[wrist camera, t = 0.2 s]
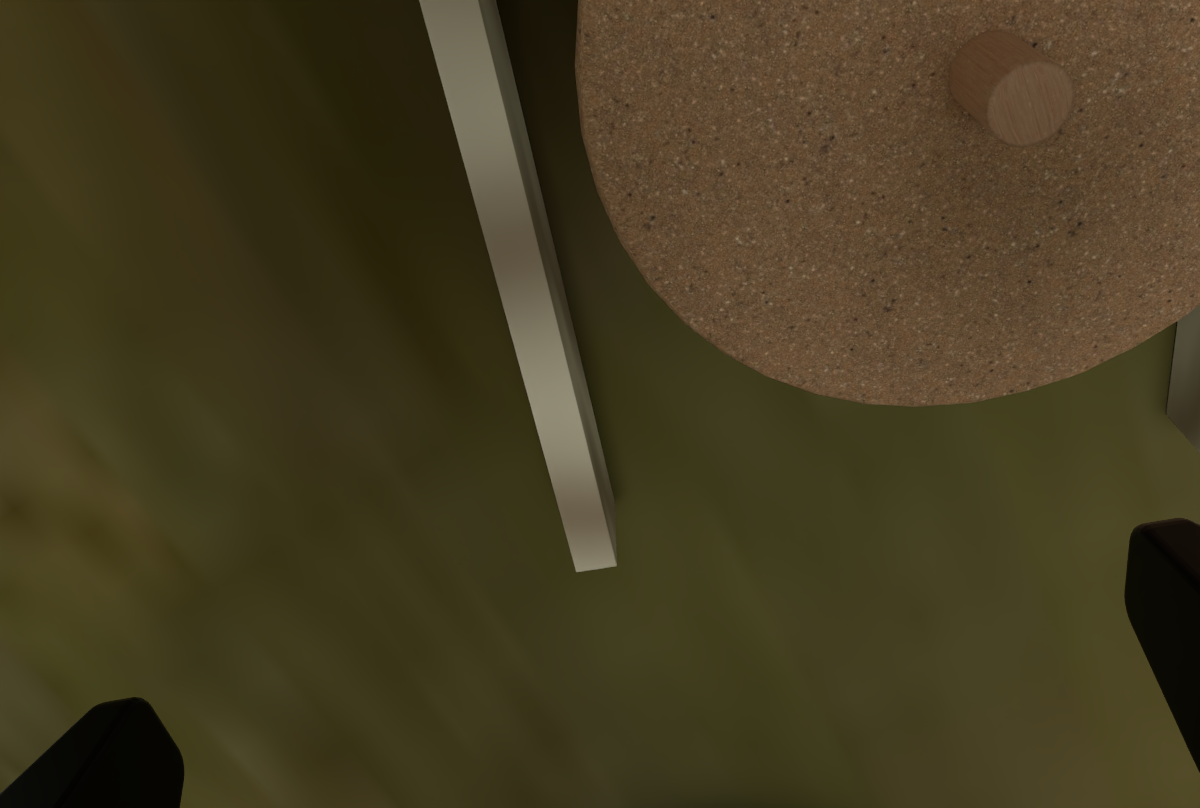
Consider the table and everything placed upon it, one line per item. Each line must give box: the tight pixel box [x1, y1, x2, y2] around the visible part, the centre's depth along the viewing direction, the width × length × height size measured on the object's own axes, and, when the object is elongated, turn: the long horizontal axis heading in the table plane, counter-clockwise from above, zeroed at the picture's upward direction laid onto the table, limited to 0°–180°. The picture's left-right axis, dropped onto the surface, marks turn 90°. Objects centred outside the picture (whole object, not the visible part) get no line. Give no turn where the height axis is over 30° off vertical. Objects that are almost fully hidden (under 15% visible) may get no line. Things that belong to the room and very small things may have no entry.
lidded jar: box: [575, 0, 1200, 407], centre depth 16 cm, size 11×11×9 cm
